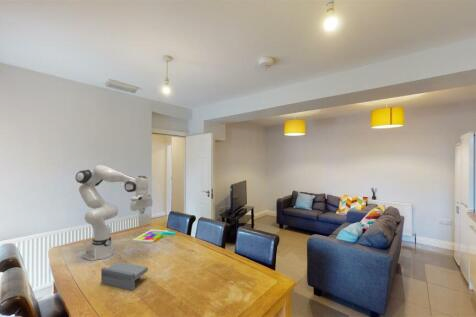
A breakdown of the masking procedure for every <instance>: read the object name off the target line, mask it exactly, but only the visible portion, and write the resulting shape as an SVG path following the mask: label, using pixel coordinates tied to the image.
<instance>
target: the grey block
mask: <svg viewBox="0 0 476 317" xmlns="http://www.w3.org/2000/svg"><path fill="white" fill-rule="evenodd" d="M148 270H149V266H143V265H138V264H133V263H128V262H123V261H118V262H116V263H114V264H112V265H110V266H109V267H102V268H101V270H100V271H101V274H100V276H101V278H100V279H101V280H100V282H101V285H102V284H103V285H107V286H110V287H116V288H120V289H124V290H129V291H134V290H135V287H136V286H135V285H136V282H135V281H136V280H137V279H139V278H140V277H141V276H143V275H144V274H146V273H147V272H148Z"/></svg>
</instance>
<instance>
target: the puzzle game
mask: <svg viewBox="0 0 476 317" xmlns="http://www.w3.org/2000/svg"><path fill="white" fill-rule="evenodd" d="M176 233H177V232H176V231H170V230H167V229H166V230H163V229H162V230H161V229H152V228H151V229H149V230H148V231H146V232H144V233H142V234H140V235H138V236H136V237H135V238H132V239H131V243H133V244H142V245H143V244H144V245H153V244H155V243H157V242H158V241H160V240H161V239H162V238H164V236H173V237H174V236H176Z"/></svg>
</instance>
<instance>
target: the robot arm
mask: <svg viewBox="0 0 476 317" xmlns="http://www.w3.org/2000/svg"><path fill="white" fill-rule="evenodd" d="M75 181H76V182H77V183H79V184H81V185H80V186H79V188H78V192H79V194H80V196H81V198H82V200H83V201H84V203H85V205H86V206H87V207H88V208H91V210H89V211H86V213H85V214H84V220H85V222H86V223H87V224H88V225H91V227H92V229H93V239H91V242H92V243H91V244H90V245H89V246H87V248H86V249H85V253H84V254H82V255H81V257H82V258H83V259H86V260H88V261H90V262H93V261H97V260H104V259H106V258H109V257H111V256H113V255H114V253H113V252H114V249H113V246H112V245H113V243H112V236H111V227H110V226H109V225H107V224H106V222H105V221H107V220H111V219H113V218H115V217H116V216H117V215H119V214H118V213H119V209H118V207H117V206H116V205H114V204H111V203H109V202H108V201H106V200H105V199H104V198H103V197H102V196H101V195H100V193H99V192H98V190H97V189H96V187H98V186H99V185H100V184H101V183H102V182H103V181H104V182H107V183H124V190H125V191H126V192H128V193H134V192H135V195H133V196H131V197H130V210H131V211H133V212H134V211H135V212H136V211H139V214H140V215H143V214H145V211H146V208H149V207H152V206H153V198H152V195H151V194H149V180H148V177H147V176H145V175H137V176H136V177H135V176H130V175H128V174H126V173H123V172H120V171H118V170H116V169H113V168H111V167H109V166H107V165H101V164H98V165H96V166H94V167H93V169H91V170H90V169H84V170H80V171H78V172H77V173H76V175H75Z"/></svg>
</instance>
